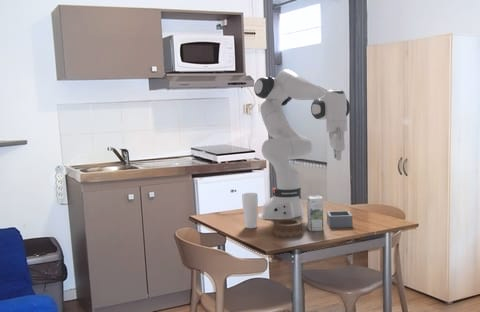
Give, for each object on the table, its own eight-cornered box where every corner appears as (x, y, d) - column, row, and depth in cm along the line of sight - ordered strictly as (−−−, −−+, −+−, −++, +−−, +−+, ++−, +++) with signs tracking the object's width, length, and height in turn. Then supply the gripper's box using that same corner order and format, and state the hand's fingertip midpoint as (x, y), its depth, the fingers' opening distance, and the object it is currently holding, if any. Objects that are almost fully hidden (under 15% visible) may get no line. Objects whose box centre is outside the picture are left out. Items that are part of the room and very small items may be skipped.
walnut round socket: (274, 238, 206) (273, 226, 206) (274, 230, 218) (273, 219, 217) (303, 237, 206) (303, 225, 205) (301, 229, 217) (301, 218, 217)
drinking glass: (247, 230, 221) (245, 196, 219) (241, 226, 227) (239, 193, 226) (261, 227, 224) (259, 194, 222) (254, 224, 230) (253, 192, 228)
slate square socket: (329, 227, 219) (329, 216, 218) (327, 222, 228) (326, 211, 228) (352, 227, 218) (352, 215, 218) (349, 221, 228) (348, 210, 227)
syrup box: (320, 227, 219) (319, 194, 218) (323, 231, 213) (323, 197, 212) (307, 228, 219) (306, 195, 217) (310, 232, 213) (309, 198, 211)
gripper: (347, 128, 208) (348, 161, 209) (340, 125, 228) (341, 156, 230) (332, 129, 208) (333, 162, 210) (326, 126, 229) (327, 156, 230)
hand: (337, 159), depth 220 cm, fingers open, 6 cm apart
